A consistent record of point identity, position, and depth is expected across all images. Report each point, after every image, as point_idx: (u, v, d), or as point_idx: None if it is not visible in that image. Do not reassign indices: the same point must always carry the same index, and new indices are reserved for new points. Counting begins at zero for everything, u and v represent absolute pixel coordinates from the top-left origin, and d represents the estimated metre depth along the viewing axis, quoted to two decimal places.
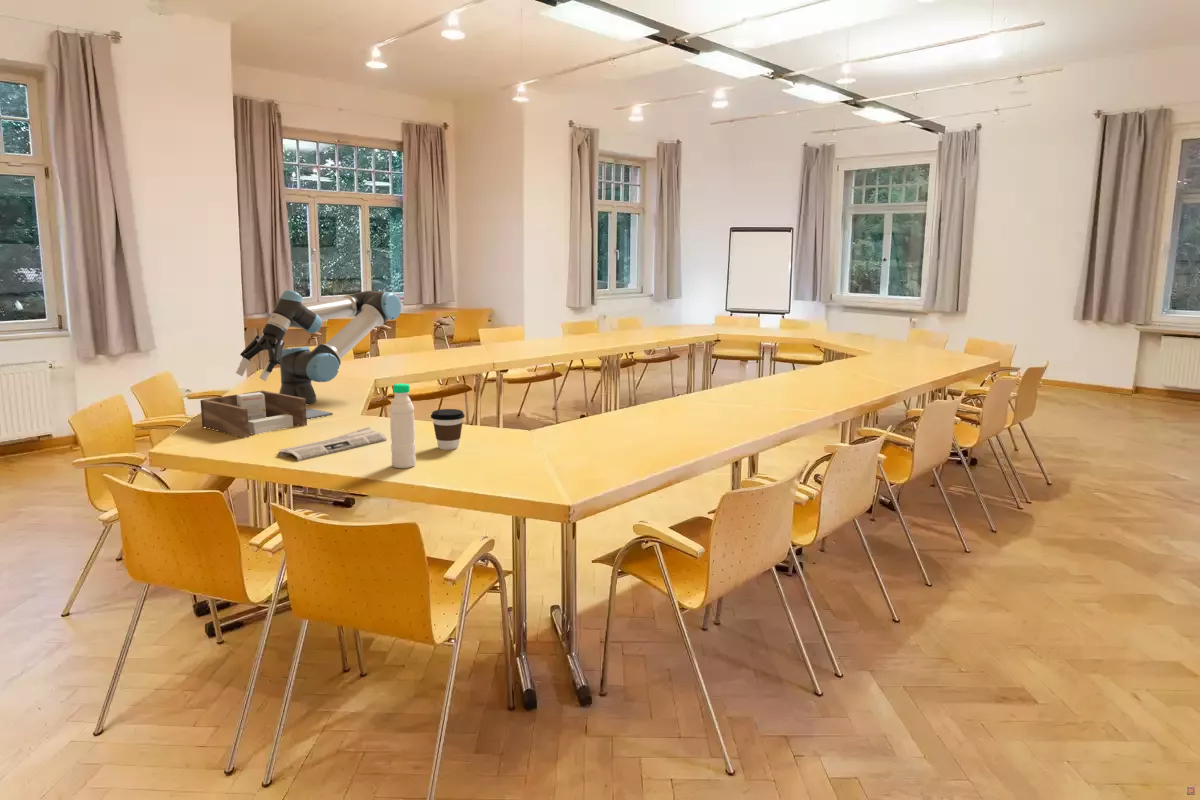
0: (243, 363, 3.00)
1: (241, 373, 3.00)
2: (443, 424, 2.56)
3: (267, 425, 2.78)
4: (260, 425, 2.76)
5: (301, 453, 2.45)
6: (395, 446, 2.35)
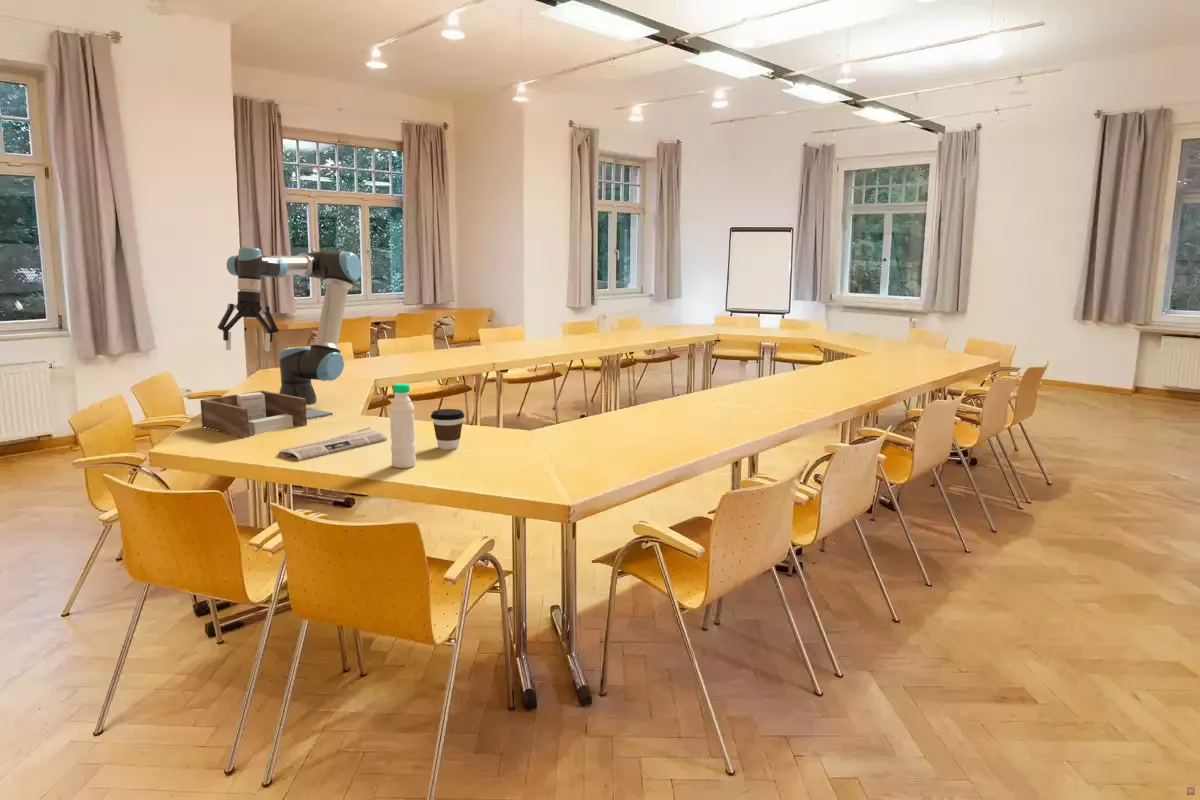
0: None
1: None
2: (443, 424, 2.56)
3: (267, 425, 2.78)
4: (261, 425, 2.76)
5: (302, 453, 2.45)
6: (395, 446, 2.35)
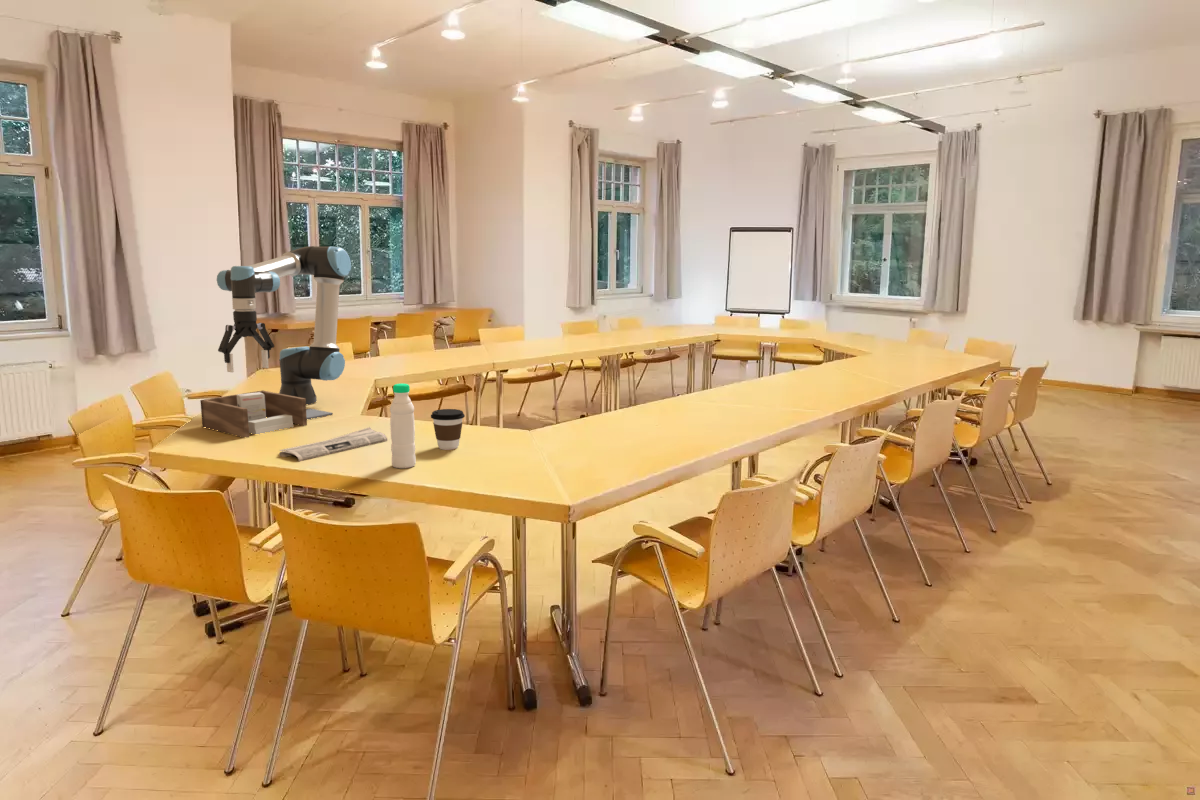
0: None
1: None
2: (443, 424, 2.56)
3: (267, 425, 2.78)
4: (261, 425, 2.76)
5: (302, 453, 2.45)
6: (395, 446, 2.35)
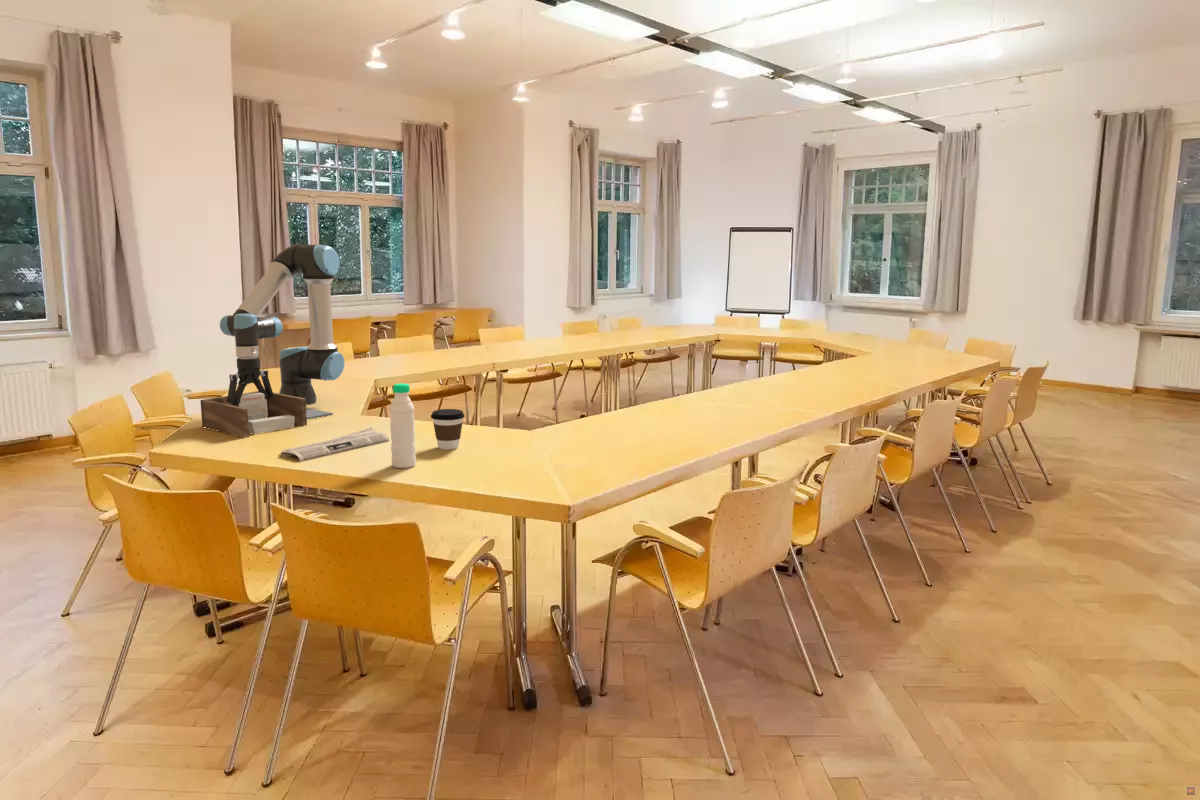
0: None
1: None
2: (443, 424, 2.56)
3: (267, 425, 2.78)
4: (260, 425, 2.76)
5: (304, 453, 2.45)
6: (395, 446, 2.35)
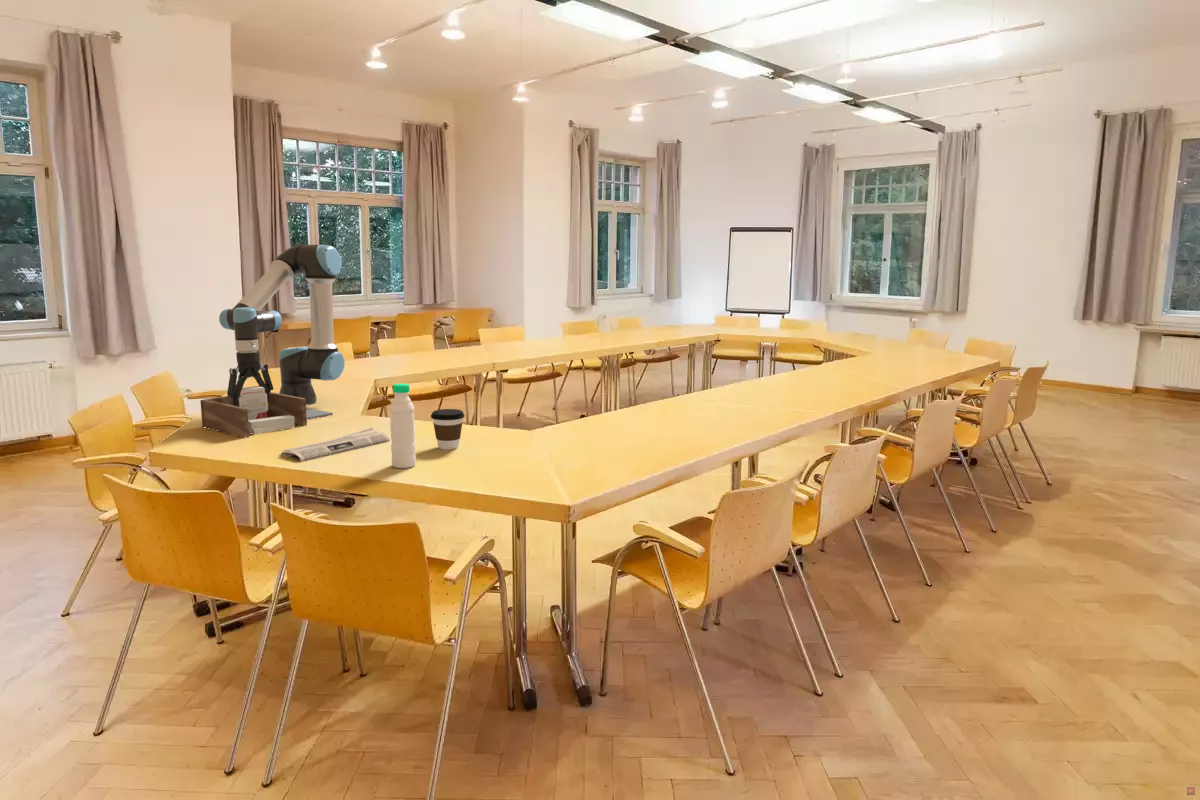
0: None
1: None
2: (443, 424, 2.56)
3: (266, 425, 2.78)
4: (259, 425, 2.76)
5: (304, 454, 2.45)
6: (395, 446, 2.35)
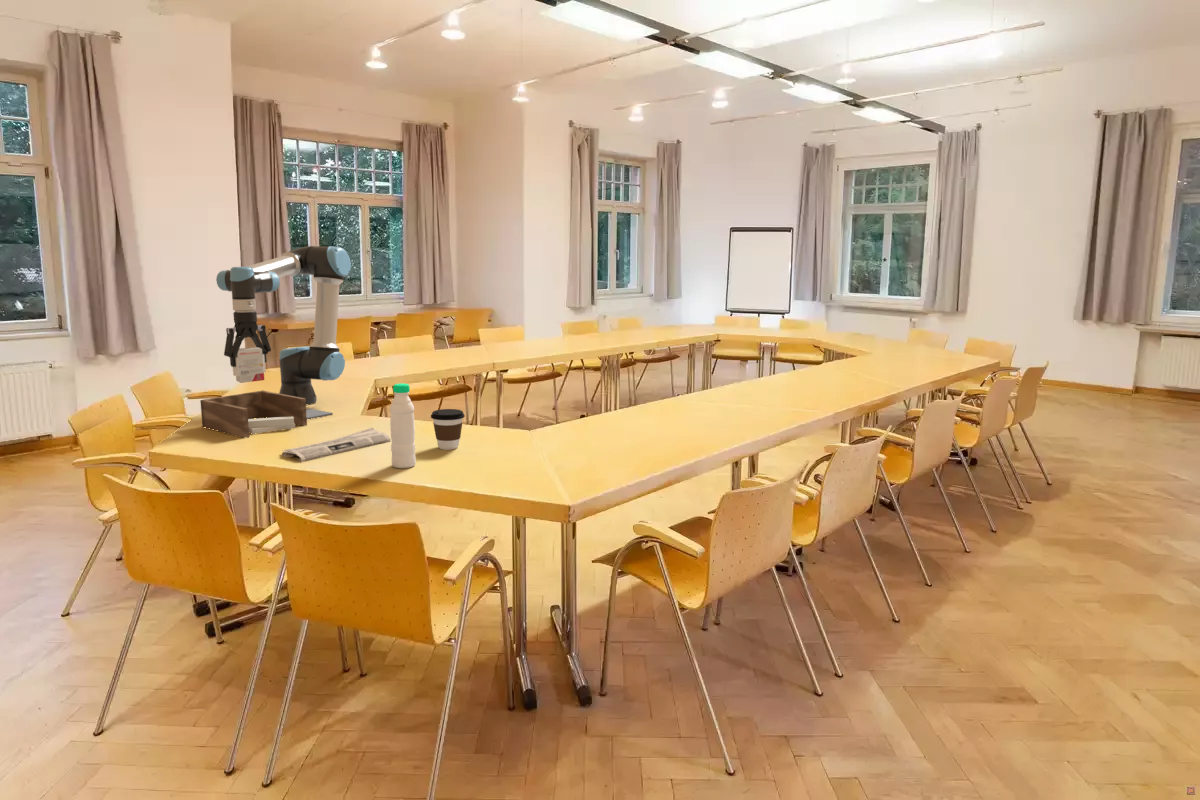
0: None
1: None
2: (443, 424, 2.56)
3: (263, 425, 2.78)
4: (256, 425, 2.77)
5: (305, 454, 2.45)
6: (395, 446, 2.35)
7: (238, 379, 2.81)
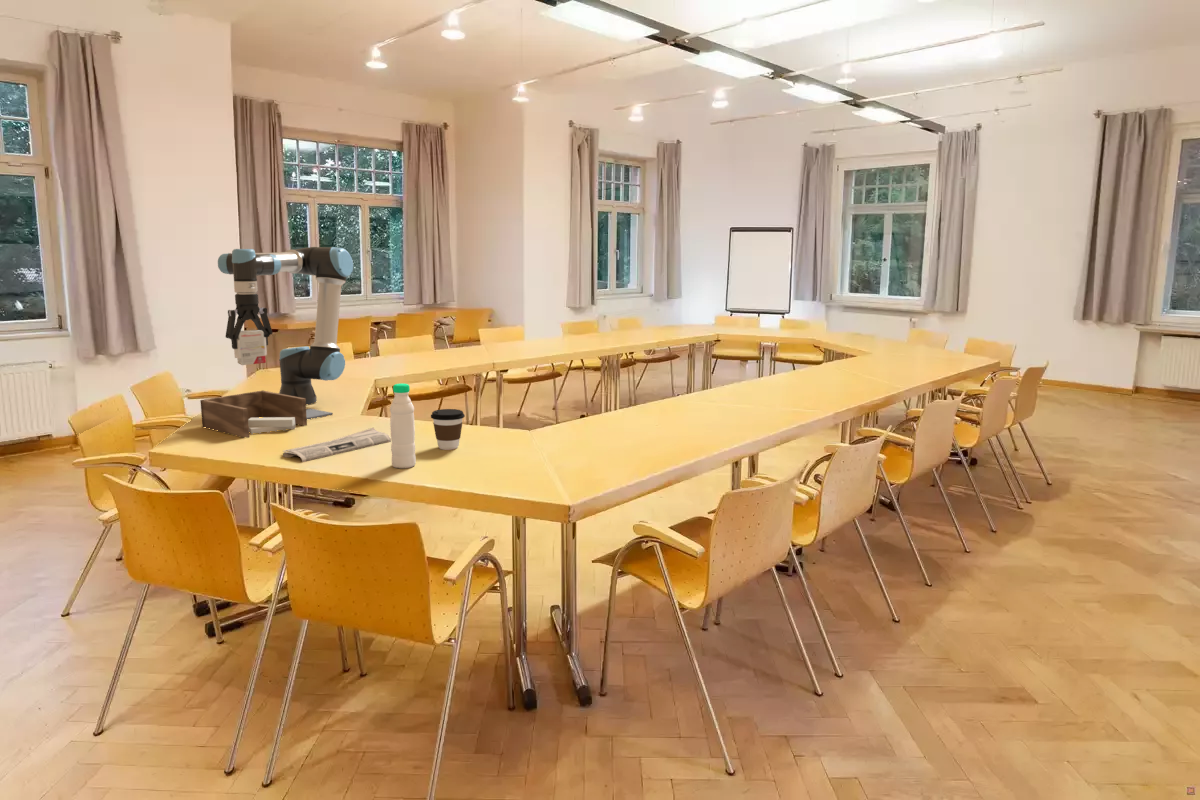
0: None
1: None
2: (443, 424, 2.56)
3: (263, 425, 2.79)
4: (255, 424, 2.78)
5: (306, 454, 2.44)
6: (395, 446, 2.35)
7: (239, 361, 2.81)
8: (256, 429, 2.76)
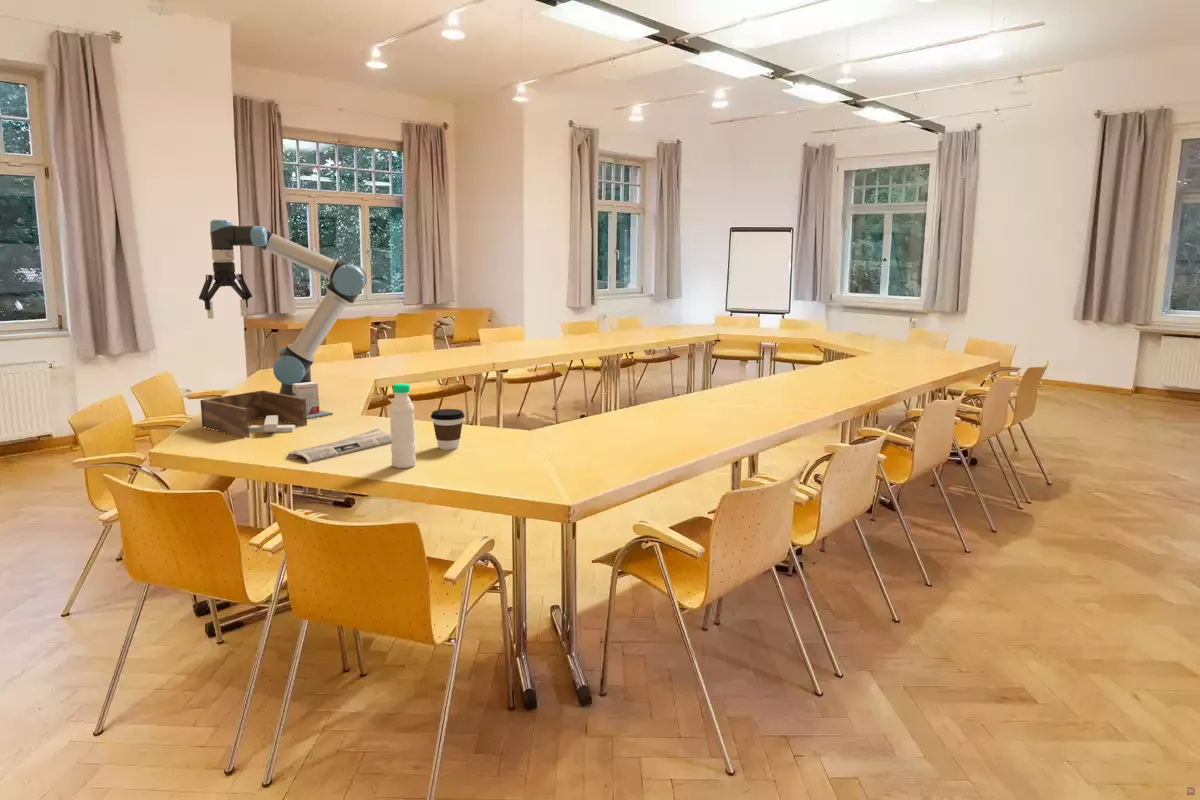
0: None
1: None
2: (443, 424, 2.56)
3: None
4: None
5: (311, 455, 2.43)
6: (395, 446, 2.35)
7: None
8: (253, 428, 2.78)
